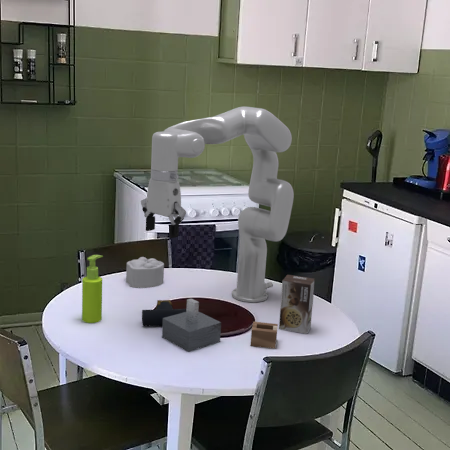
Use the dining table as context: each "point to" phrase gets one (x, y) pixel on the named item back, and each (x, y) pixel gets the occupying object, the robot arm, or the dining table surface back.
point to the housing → (191, 328)
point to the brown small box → (264, 335)
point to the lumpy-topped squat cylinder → (144, 273)
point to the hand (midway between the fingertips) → (161, 233)
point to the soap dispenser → (92, 293)
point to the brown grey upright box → (296, 303)
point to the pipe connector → (159, 313)
